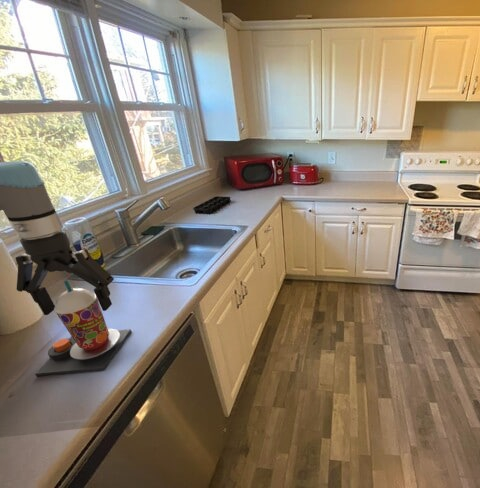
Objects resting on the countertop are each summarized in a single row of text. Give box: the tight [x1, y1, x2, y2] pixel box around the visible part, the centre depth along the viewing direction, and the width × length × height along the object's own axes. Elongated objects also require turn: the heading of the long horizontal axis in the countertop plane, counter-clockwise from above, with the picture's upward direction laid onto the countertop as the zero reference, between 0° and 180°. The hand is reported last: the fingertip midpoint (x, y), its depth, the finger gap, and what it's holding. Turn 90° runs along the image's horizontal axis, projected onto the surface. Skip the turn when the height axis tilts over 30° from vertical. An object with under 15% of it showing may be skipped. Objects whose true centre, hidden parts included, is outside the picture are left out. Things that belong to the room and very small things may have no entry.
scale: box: [34, 329, 132, 378], centre depth 77 cm, size 17×14×3 cm
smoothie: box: [53, 280, 109, 350], centre depth 72 cm, size 8×8×20 cm
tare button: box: [52, 338, 71, 352], centre depth 76 cm, size 3×3×2 cm
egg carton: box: [192, 195, 231, 215], centre depth 193 cm, size 18×30×4 cm, turn 1°
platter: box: [70, 328, 120, 360], centre depth 77 cm, size 11×11×1 cm
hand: (79, 309), depth 72 cm, fingers open, 13 cm apart
